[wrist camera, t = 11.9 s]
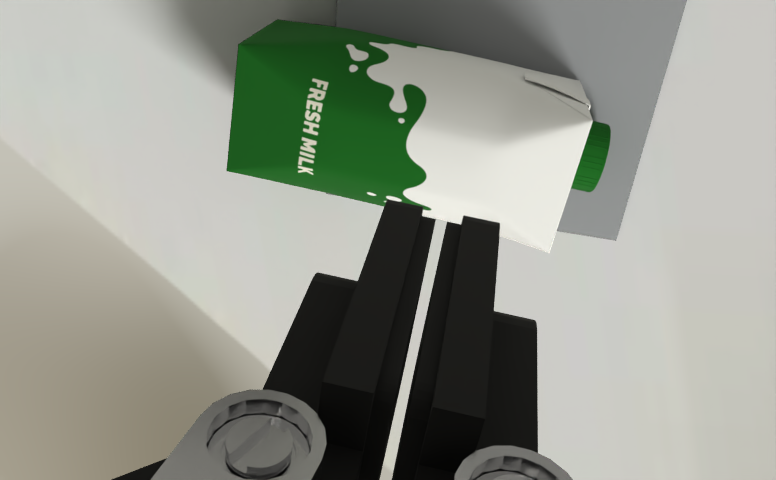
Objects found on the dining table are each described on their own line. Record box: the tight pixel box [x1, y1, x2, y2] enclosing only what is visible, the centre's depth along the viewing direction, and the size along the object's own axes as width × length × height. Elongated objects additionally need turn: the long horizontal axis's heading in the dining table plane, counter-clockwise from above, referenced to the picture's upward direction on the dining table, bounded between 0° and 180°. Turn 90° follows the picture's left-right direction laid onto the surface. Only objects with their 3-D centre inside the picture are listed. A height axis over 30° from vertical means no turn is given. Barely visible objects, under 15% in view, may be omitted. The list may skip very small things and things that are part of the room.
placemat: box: [326, 0, 687, 241], centre depth 44 cm, size 16×19×1 cm
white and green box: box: [227, 20, 611, 253], centre depth 41 cm, size 9×9×20 cm
